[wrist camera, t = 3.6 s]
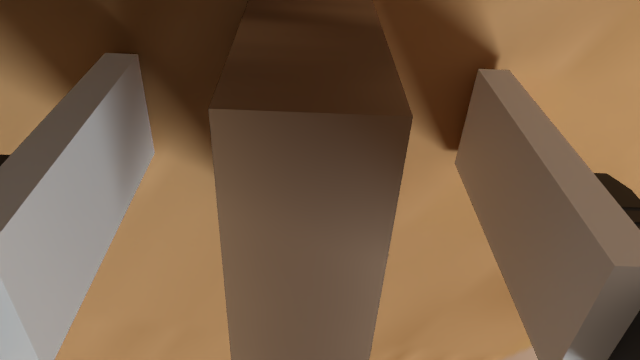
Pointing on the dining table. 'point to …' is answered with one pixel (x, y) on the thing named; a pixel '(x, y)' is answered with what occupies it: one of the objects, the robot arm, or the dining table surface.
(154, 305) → the dining table surface
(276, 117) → the brown square block
